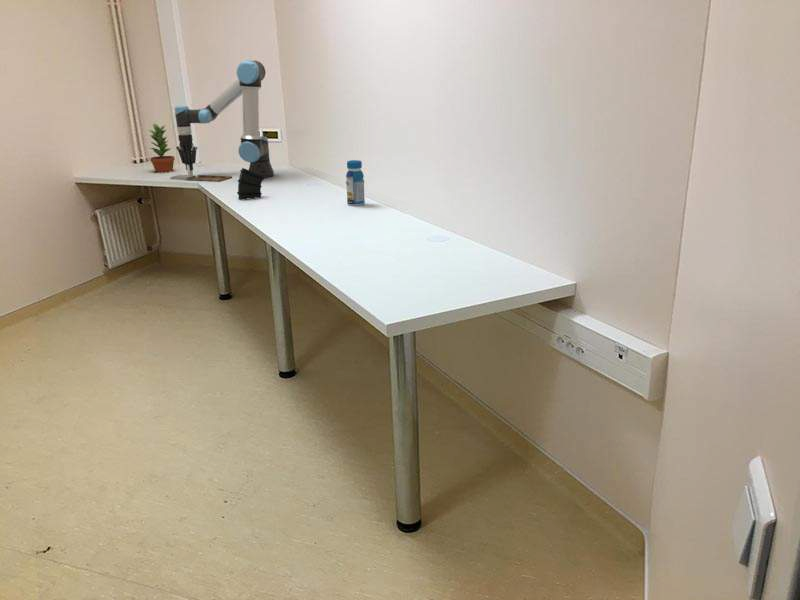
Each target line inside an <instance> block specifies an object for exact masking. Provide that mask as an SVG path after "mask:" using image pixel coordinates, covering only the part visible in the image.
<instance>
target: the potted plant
mask: <svg viewBox="0 0 800 600" xmlns="http://www.w3.org/2000/svg"><path fill="white" fill-rule="evenodd" d="M152 127H153V129H154V130H151V129H148V131H149V132H150V133H152V134H149V135H150V137H151V138H152V139H153V140H154V141H155V142H153V141H150V143H151V144H152V145H154V146H156V147H157V148H155V147H150V149H151V150H153V152H154V153H155V154H156V155H158V156H152V157H150V158H149V159H150V163H151V164H152V166H153V169H154V171H155V172H156V171H157V172H167V173H170V172H169V171H172V172H174V164H175V163H174V162H175V156H173V155H165V153H167V152H169V151H170V150H171V148H169V147H168V146H169V144H168V143H167V142H169V140H166V139H167V137H168V136H163V135H164V134H165V133H166V131H167V130H168V129H167V128H166V129H165V127H166V125H163V126H161V127H160V126H159V125H158V124H156V123H153V124H152ZM157 172H156V173H157Z"/></svg>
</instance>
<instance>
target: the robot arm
mask: <svg viewBox="0 0 800 600" xmlns="http://www.w3.org/2000/svg"><path fill="white" fill-rule="evenodd" d="M236 77H237V79H236V80H235V81H234V82H233V83H231V84H230V85H229V86H228V87H227V88H226V89H225V90H224V91H223V92H221V93H220V94H219V95H217V97H216V98H214V99H213V100H212V101H211V102H210V103H209V104H208V105H207V106H206V107H204V108H201V109H200V108H199V109H190V108H189V106H188V105H177V106H175V107H174V115H175V122H176V129H177V134H178V141H179V144H178V146H176V150H177V152H178V154H179V157H180V160H181V163H182V164H184V165H185V169H186V171H187V175H188V176H193V175H194V174H193V170H194V167H193V166H194V164H196V158H197V150H198V146H195V145H194V143H193V135H192V126H191V124H203V125H204V124H209V123H211V122H213V121H215V120H216V119H217V118H218V116H219V115H220V114H221V113H222V112H224V111H225V109H227V108H228V107H229V106H231V104H233V103H234V102H235V101H236V100H237V99H239V98H240V97H241V96H242V122H243V123H242V124H243V125H242V132H243V133H242V135H241V136H240V145H238V149H237V150H238V155H239V158H241V159H242V161H244V162H246V163H249V168H248V170H250V171H252V172H255V173H258V174H260V175H263V176H264V177H263V178H264V179H265V178H269V177H270V178H271V177H273V176H275V171H274V169H273V167H272V164H271V160H270V159H271V158H270V149H269V141H268V140H269V138H268V137H267V136H261V135H260V131H259V130H260V123H259V122H260V116H259V115H260V113H259V104H260V102H259V90H260V89H261V88H262V81H263V80H264V79H265V77H266V68H265V66H264V64H263V63H262V62H260V61H258V60H251V59H249V60H244V61H242V62H240V63H239V64H238V65H237V68H236Z"/></svg>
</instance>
